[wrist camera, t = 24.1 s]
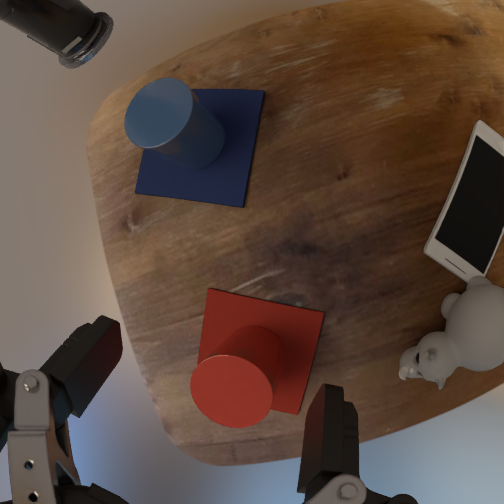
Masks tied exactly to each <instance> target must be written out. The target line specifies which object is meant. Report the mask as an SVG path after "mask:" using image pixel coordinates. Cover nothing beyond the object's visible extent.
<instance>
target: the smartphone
mask: <svg viewBox="0 0 504 504" xmlns="http://www.w3.org/2000/svg"><path fill="white" fill-rule="evenodd" d="M503 233H504V138H502V137H501V136H500V135H499V134H498V133H496V132H495V131H494V130H493V129H491V128H490V127H489V126H488V125H486V124H485V123H484V122H482V121H481V120H479V121H478V122H477V123H476V124H475V125H474V128H473V131H472V134H471V137H470V140H469V143H468V146H467V149H466V152H465V155H464V157H463V160H462V163H461V165H460V168H459V171H458V173H457V176H456V178H455V181H454V183H453V186H452V188H451V190H450V193H449V195H448V198H447V200H446V202H445V204H444V207H443V209H442V211H441V213H440V216H439V218H438V220H437V222H436V224H435V226H434V228H433V230H432V232H431V235H430V237H429V239H428V241H427V243H426V245H425V247H424V253H425V254H426V255H428V256H429V257H431V258H432V259H433V260H435V261H436V262H438V263H439V264H441V265H442V266H444V267H445V268H446V269H448V270H449V271H451V272H452V273H453V274H455V275H456V276H458V277H459V278H460V279H462V280H463V281H464V282H466V283H467V284H468V281H469V280H470V279H471V278H472V277H474V276H483V277H485V275H486V273H487V271H488V268H489V266H490V264H491V262H492V259H493V257H494V255H495V253H496V250H497V248H498V245H499V243H500V240H501V238H502V235H503Z"/></svg>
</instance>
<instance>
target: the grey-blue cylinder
mask: <svg viewBox="0 0 504 504" xmlns="http://www.w3.org/2000/svg"><path fill="white" fill-rule="evenodd" d="M125 131H126V134H127V136H128V138H129V140H130V141H131V142H132V143H133V144H135V145H136V146H138V147H140V148H142V149H144V150H146V151H148V152H150V153H152V154H154V155H156V156H158V157H160V158H162V159H164V160H166V161H168V162H170V163H172V164H174V165H176V166H178V167H180V168H182V169H185V170H197V169H201V168H203V167H205V166H207V165H209V164H210V163H212V162H213V161H214V160H215V159H216V158H217V157H218V155H219V154H220V152H221V150H222V148H223V145H224V140H225V133H224V128H223V126H222V124H221V122H220V121H219V120H218V119H217V118H216V116H215V115H214V114H213V113H212V112H211V111H210V110H209V109H208V107H207V106H206V105H205V104H204V103H203V102H202V101H201V100H200V99H199V98H198V96H197V95H196V94H195V93H194V92H193V91H192V90H191V89H190V88H189V87H188V86H187V85H186V84H185V83H184V82H183V81H181V80H179V79H175V78H162V79H158V80H155V81H153V82H151V83H149V84H147V85H146V86H145V87H143V88H142V89H141V90H140V91H139V92H138V93H137V94H136V95H135V96H134V98H133V99H132V101H131V102H130V104H129V106H128V108H127V111H126V115H125Z"/></svg>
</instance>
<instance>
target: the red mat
mask: <svg viewBox="0 0 504 504" xmlns="http://www.w3.org/2000/svg"><path fill="white" fill-rule="evenodd" d="M323 316H324V312H320V311H315V310H310V309H305V308H300V307H295V306H290V305H285V304H280V303H275V302H271V301H266V300H261V299H256V298H252V297H247V296H243V295H238V294H234V293H229V292H225V291H220V290H216V289H212V288H209V289H208V293H207V300H206V307H205V313H204V320H203V328H202V335H201V342H200V350H199V357H198V365H199V364H200V363H201V362H202V361H203V360H204V359H205V358H206V357H207V356H208V355H209V354H210V353H211V352H213V351H214V350H215V349H216V348H217V347H218V346H219V345H220V344H221V343H222V342H223V341H224V340H225V339H226V338H227V337H228V336H229V335H230V334H231V333H233V332H234V331H235V330H237V329H239V328H242V327H246V326H258V327H262V328H265V329H267V330H269V331H271V332H272V333H274V334H275V335H276V336H277V337H278V338H279V339H280V341H281V342H282V344H283V346H284V348H285V352H286V364H285V368H284V371H283V374H282V377H281V380H280V383H279V386H278V389H277V392H276V395H275V398H274V401H273V403H272V406H271V409H272V410H277V411H281V412H286V413H291V414H295V415H298V412H299V409H300V405H301V402H302V398H303V395H304V391H305V388H306V384H307V380H308V377H309V373H310V369H311V365H312V362H313V358H314V354H315V350H316V346H317V342H318V337H319V333H320V329H321V325H322V320H323ZM198 365H197V366H198Z"/></svg>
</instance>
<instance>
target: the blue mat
mask: <svg viewBox="0 0 504 504" xmlns="http://www.w3.org/2000/svg"><path fill="white" fill-rule="evenodd" d="M191 90H192V91H193V92H194V93H195V94H196V95H197V96H198V98H199V99H200V100H201V101H202V102H203V103H204V104H205V105H206V106H207V107H208V109H209V110H210V111H211V112H212V113H213V114H214V115H215V116H216V118H217V119H218V120H219V121H220V122H221V124H222V126H223V128H224V133H225V140H224V145H223V148H222V150H221V152H220V154H219V155H218V157H217V158H216V159H215V160H214V161H213V162H212V163H210V164H209V165H207V166H205V167H203V168H201V169H197V170H185V169H182V168H180V167H178V166H176V165H174V164H172V163H170V162H168V161H166V160H164V159H162V158H160V157H158V156H156V155H154V154H152V153H150V152H148V151H146V150H144V151H143V155H142V160H141V165H140V169H139V174H138V179H137V184H136V189H135V193H136V194H145V195H153V196H161V197H169V198H177V199H185V200H192V201H200V202H207V203H214V204H221V205H228V206H235V207H241V208H243V207H244V201H245V196H246V190H247V185H248V179H249V173H250V168H251V162H252V157H253V151H254V146H255V140H256V135H257V130H258V124H259V119H260V114H261V108H262V103H263V98H264V90H244V89H191Z"/></svg>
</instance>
